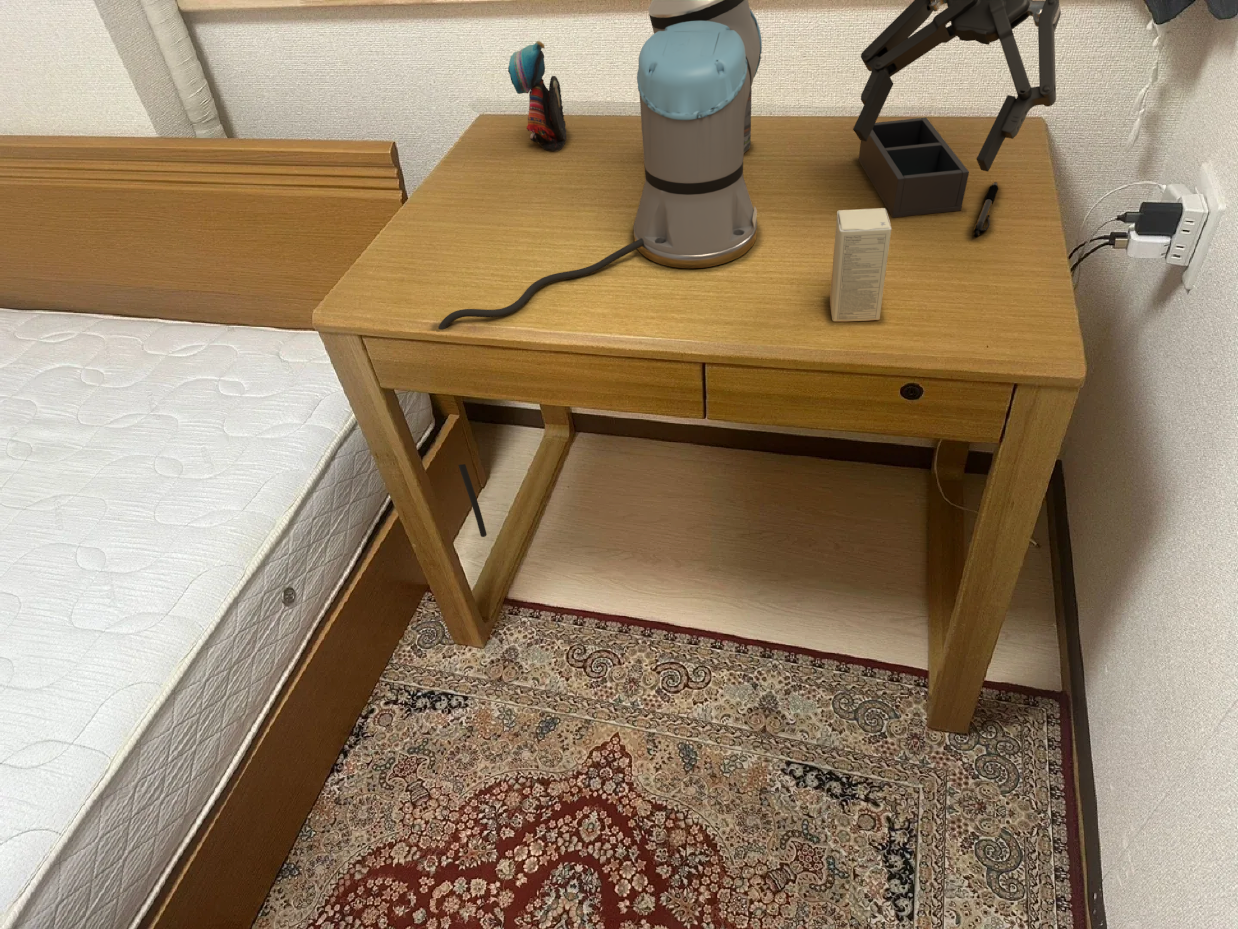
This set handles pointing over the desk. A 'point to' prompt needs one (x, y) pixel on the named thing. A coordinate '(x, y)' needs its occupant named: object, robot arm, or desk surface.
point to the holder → (913, 168)
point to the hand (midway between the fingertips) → (918, 150)
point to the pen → (986, 211)
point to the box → (859, 264)
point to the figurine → (539, 97)
